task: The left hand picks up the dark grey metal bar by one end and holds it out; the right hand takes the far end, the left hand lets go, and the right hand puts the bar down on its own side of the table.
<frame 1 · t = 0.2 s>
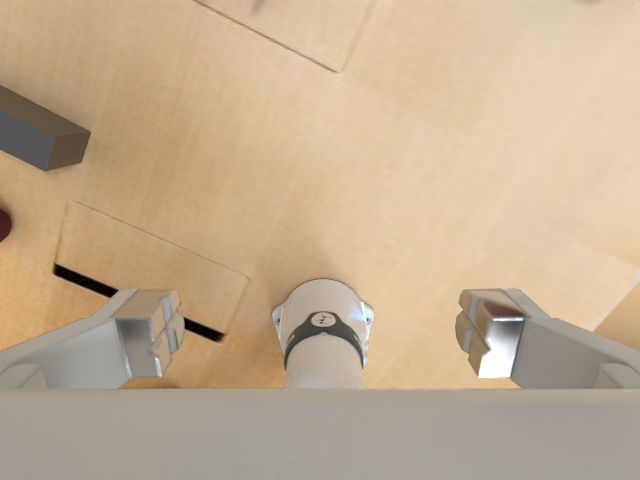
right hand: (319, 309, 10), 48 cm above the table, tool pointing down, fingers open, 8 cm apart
bar: (8, 108, 53), on the table
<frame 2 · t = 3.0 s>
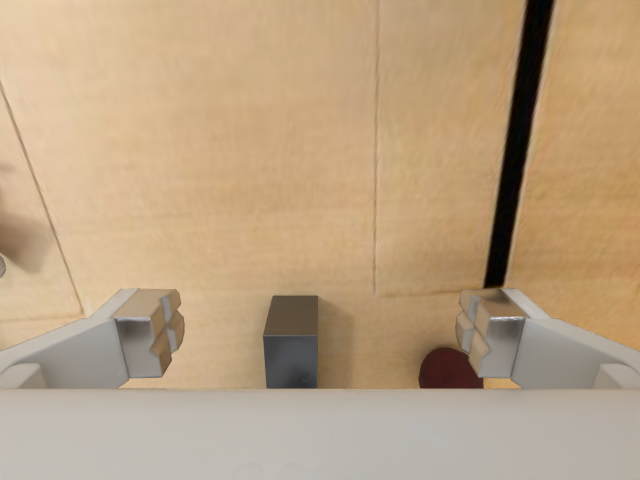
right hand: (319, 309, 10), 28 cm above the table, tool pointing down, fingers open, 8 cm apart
bar: (297, 375, 46), on the table, touching left hand
potato: (440, 359, 45), on the table
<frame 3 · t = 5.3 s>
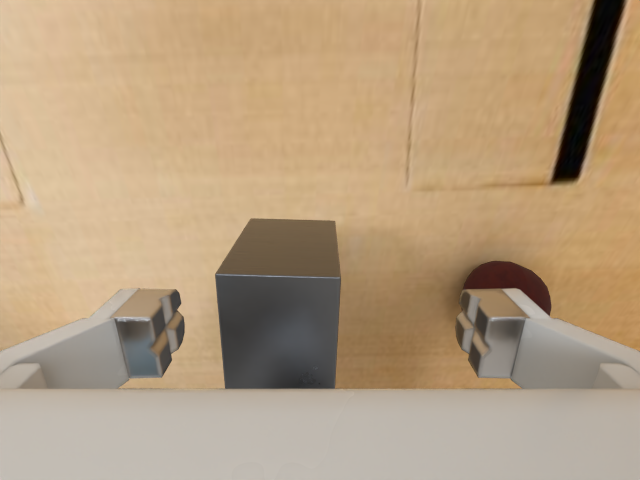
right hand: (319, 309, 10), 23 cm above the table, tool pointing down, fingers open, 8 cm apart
bar: (292, 369, 26), point 10 cm above the table, touching left hand
potato: (486, 283, 35), on the table
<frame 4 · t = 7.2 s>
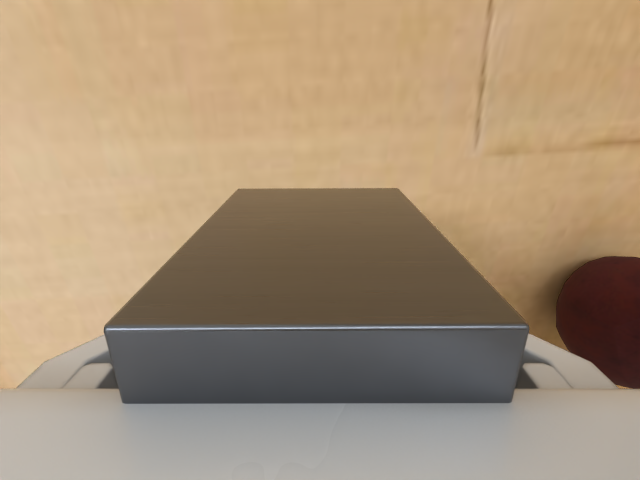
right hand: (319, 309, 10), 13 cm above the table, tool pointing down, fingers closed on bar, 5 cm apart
bar: (319, 448, 16), point 10 cm above the table, touching right hand, left hand
potato: (584, 288, 25), on the table
when the left hand's fingers open (11 cm above the table, at t = 8.0 s): bar stays where it is, held by the right hand.
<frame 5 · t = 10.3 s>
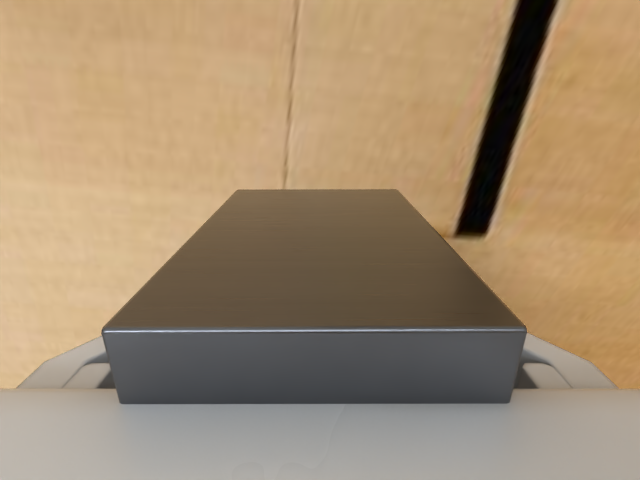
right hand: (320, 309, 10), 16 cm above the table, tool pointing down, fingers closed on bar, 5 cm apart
bar: (318, 448, 16), point 13 cm above the table, touching right hand
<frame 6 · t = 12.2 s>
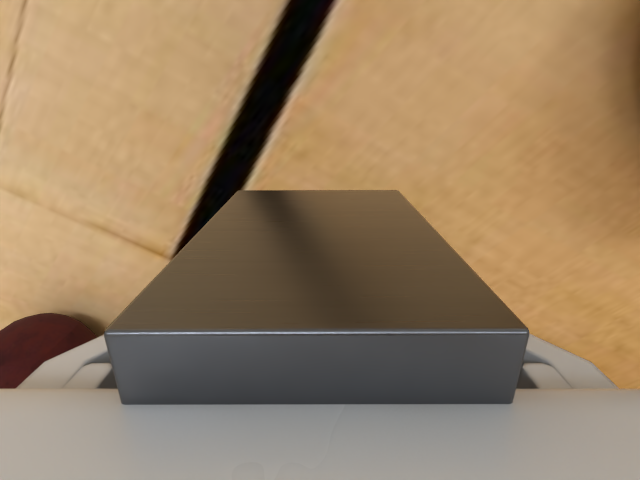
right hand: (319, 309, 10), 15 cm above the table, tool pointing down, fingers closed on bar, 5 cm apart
bar: (318, 449, 16), point 12 cm above the table, touching right hand
potato: (77, 337, 28), on the table
when the right hand's fingers open (4 cm above the table, at t = 13.9 s): bar drops 1 cm, on the table.
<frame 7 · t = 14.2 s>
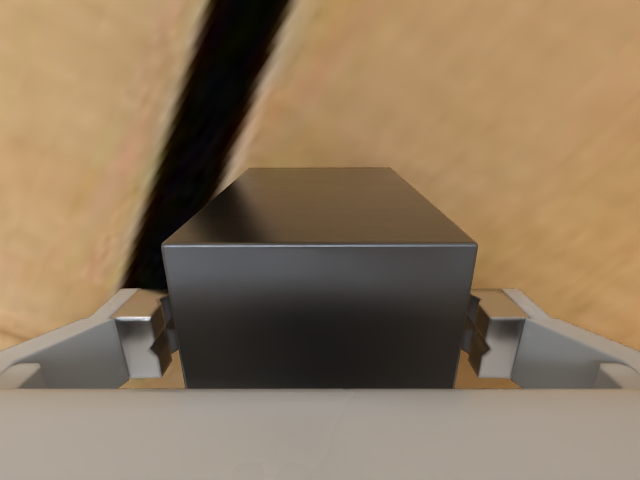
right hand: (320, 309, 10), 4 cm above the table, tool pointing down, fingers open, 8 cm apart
bar: (320, 409, 17), on the table
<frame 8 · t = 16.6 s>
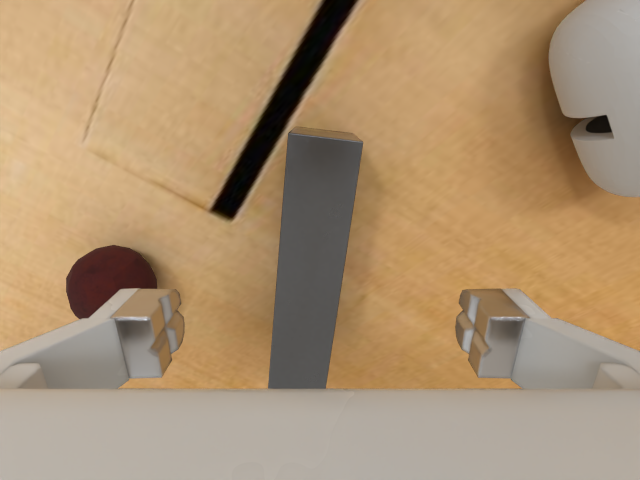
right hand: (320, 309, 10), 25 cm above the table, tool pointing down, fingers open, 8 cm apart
bar: (311, 249, 36), on the table
potato: (132, 269, 37), on the table
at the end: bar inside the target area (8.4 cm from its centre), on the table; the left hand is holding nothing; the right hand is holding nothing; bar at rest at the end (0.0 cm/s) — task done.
